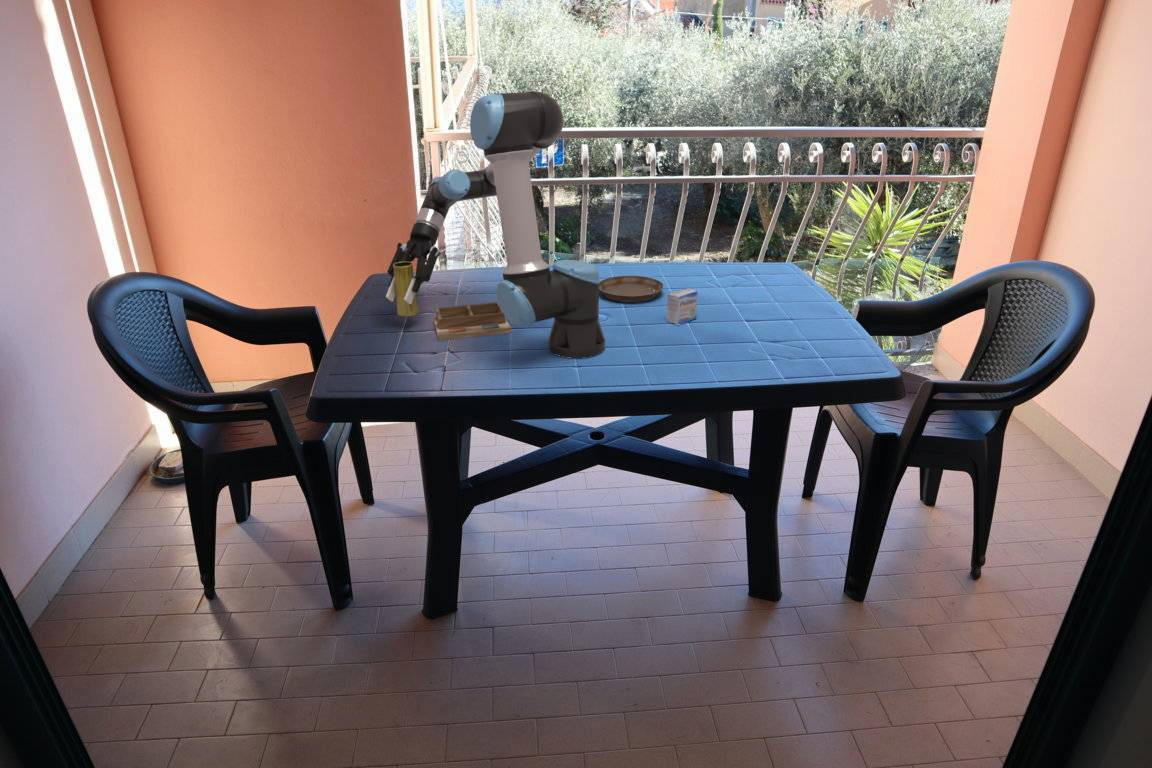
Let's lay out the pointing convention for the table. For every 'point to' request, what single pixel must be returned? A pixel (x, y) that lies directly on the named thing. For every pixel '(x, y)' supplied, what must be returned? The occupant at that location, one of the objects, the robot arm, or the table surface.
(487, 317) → the tray
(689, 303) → the medicine box
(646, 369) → the table surface
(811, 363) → the table surface
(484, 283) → the table surface
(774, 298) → the table surface
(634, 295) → the plant saucer
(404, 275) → the vase
